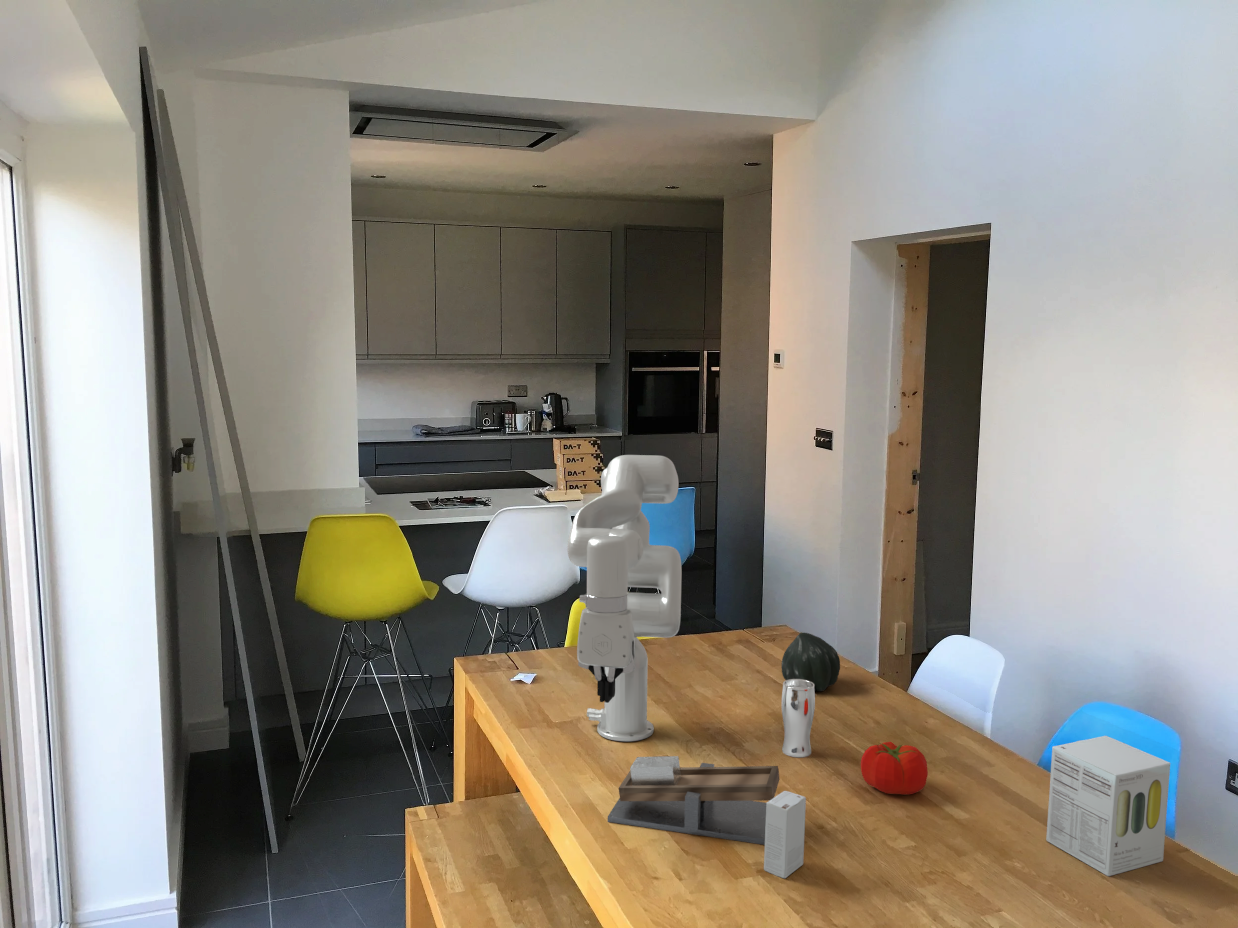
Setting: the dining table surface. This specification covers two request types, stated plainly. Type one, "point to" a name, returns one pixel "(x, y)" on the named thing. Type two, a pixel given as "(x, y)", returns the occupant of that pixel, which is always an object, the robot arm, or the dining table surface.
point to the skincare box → (784, 834)
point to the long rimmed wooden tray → (709, 785)
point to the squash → (811, 661)
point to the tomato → (894, 768)
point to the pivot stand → (697, 816)
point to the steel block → (655, 771)
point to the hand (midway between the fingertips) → (606, 699)
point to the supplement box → (1108, 804)
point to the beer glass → (797, 716)
